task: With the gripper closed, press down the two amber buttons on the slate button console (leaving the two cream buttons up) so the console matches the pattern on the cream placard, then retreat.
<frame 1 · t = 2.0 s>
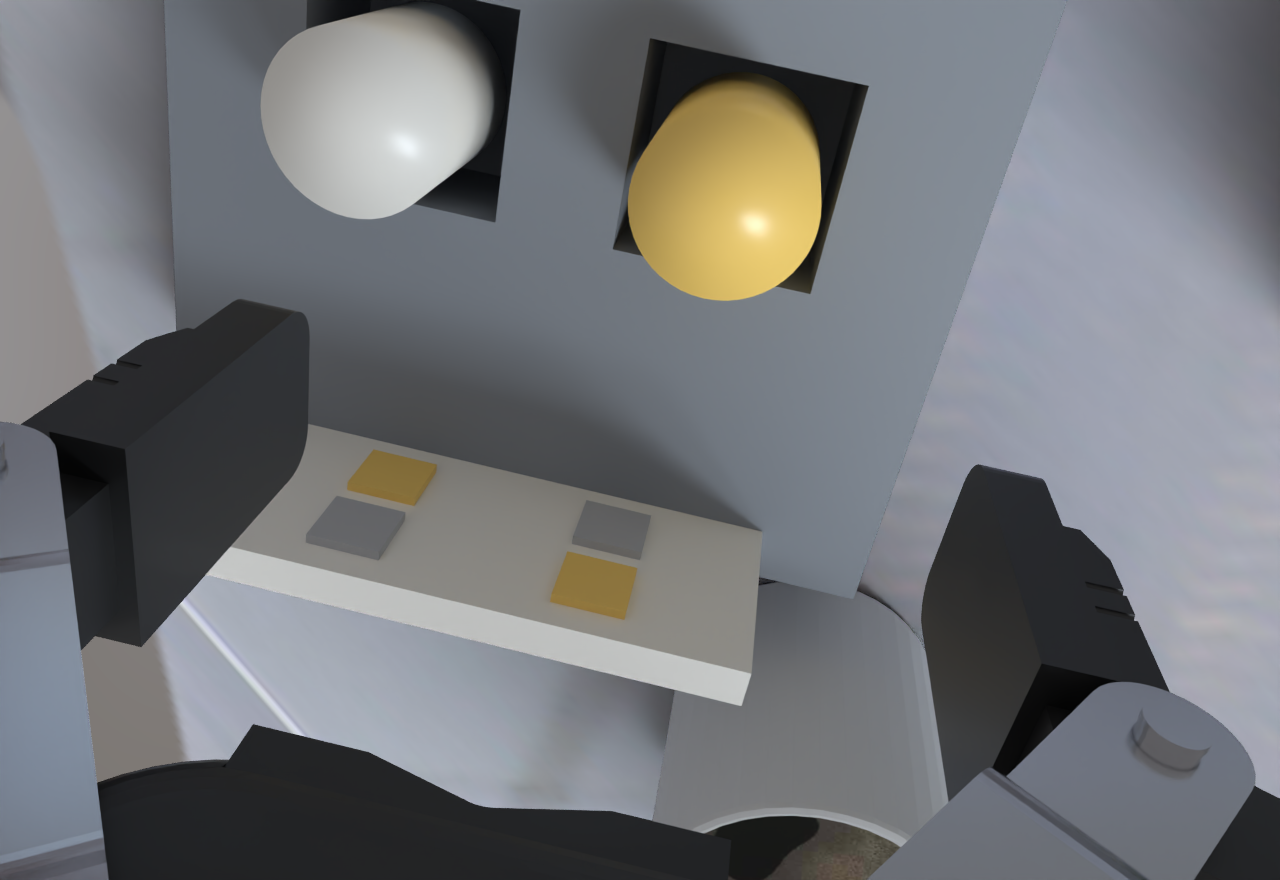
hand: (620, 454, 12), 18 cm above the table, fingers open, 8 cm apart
button cream 2: (393, 104, 24), point 5 cm above the table, slide at 0.0 cm
button amber 1: (731, 180, 24), point 5 cm above the table, slide at 0.0 cm
console: (608, 64, 28), on the table
mug: (786, 695, 37), on the table
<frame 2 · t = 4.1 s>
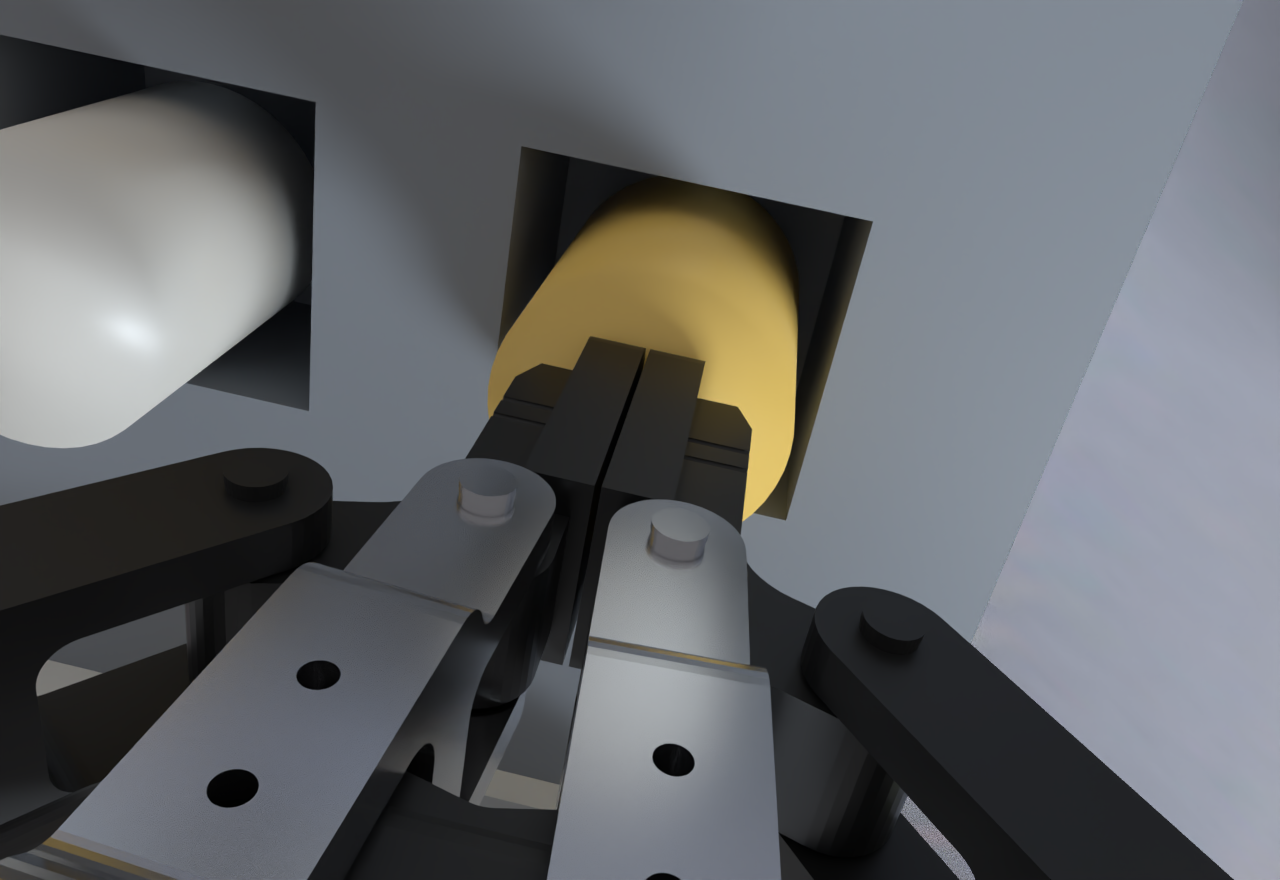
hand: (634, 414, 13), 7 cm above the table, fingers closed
button cream 2: (126, 249, 15), point 5 cm above the table, slide at 0.0 cm
button amber 1: (662, 346, 16), point 5 cm above the table, slide at 0.8 cm, touching gripper
console: (493, 159, 19), on the table
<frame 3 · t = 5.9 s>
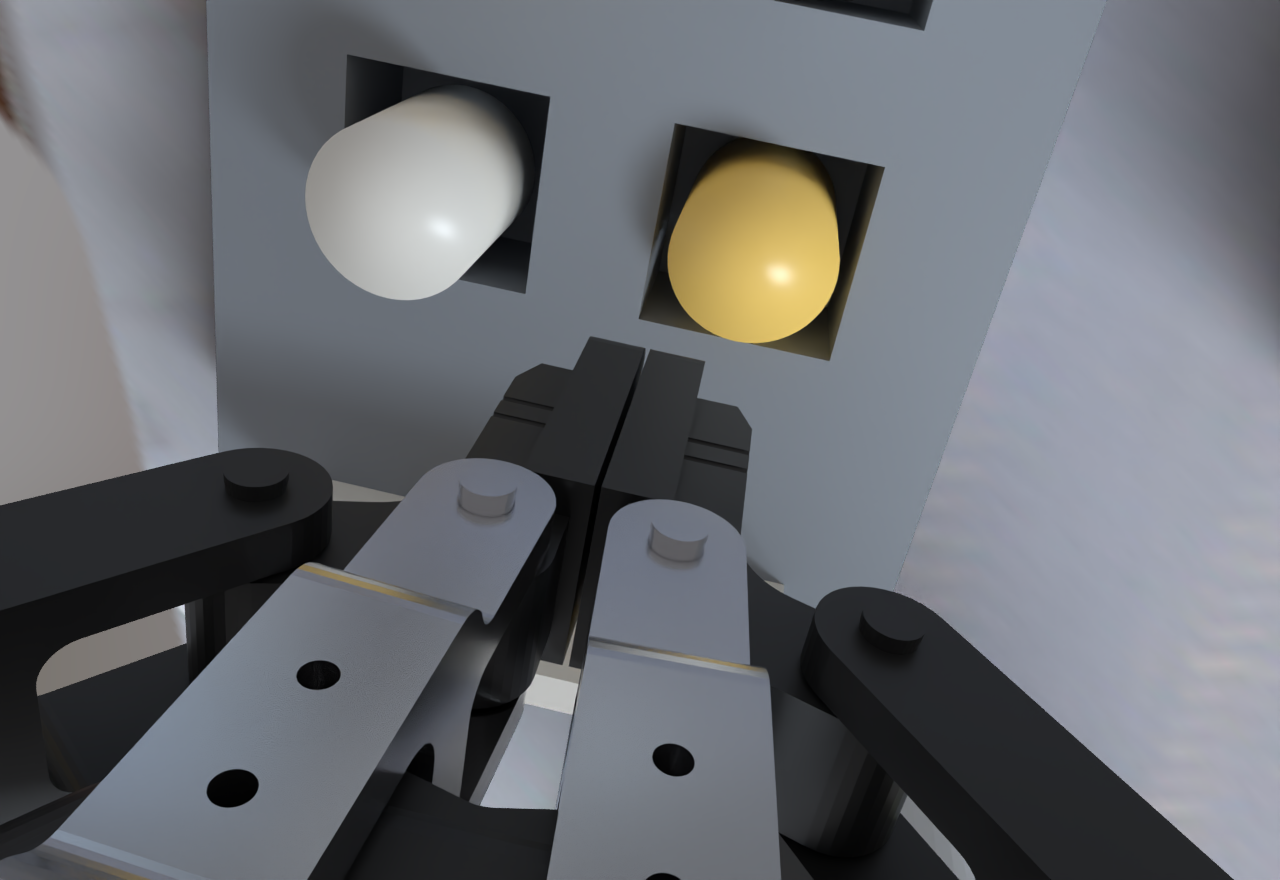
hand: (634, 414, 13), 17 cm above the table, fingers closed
button cream 2: (429, 186, 25), point 5 cm above the table, slide at 0.0 cm
button amber 1: (757, 233, 26), point 3 cm above the table, slide at 2.0 cm
console: (631, 136, 29), on the table
mug: (806, 734, 38), on the table
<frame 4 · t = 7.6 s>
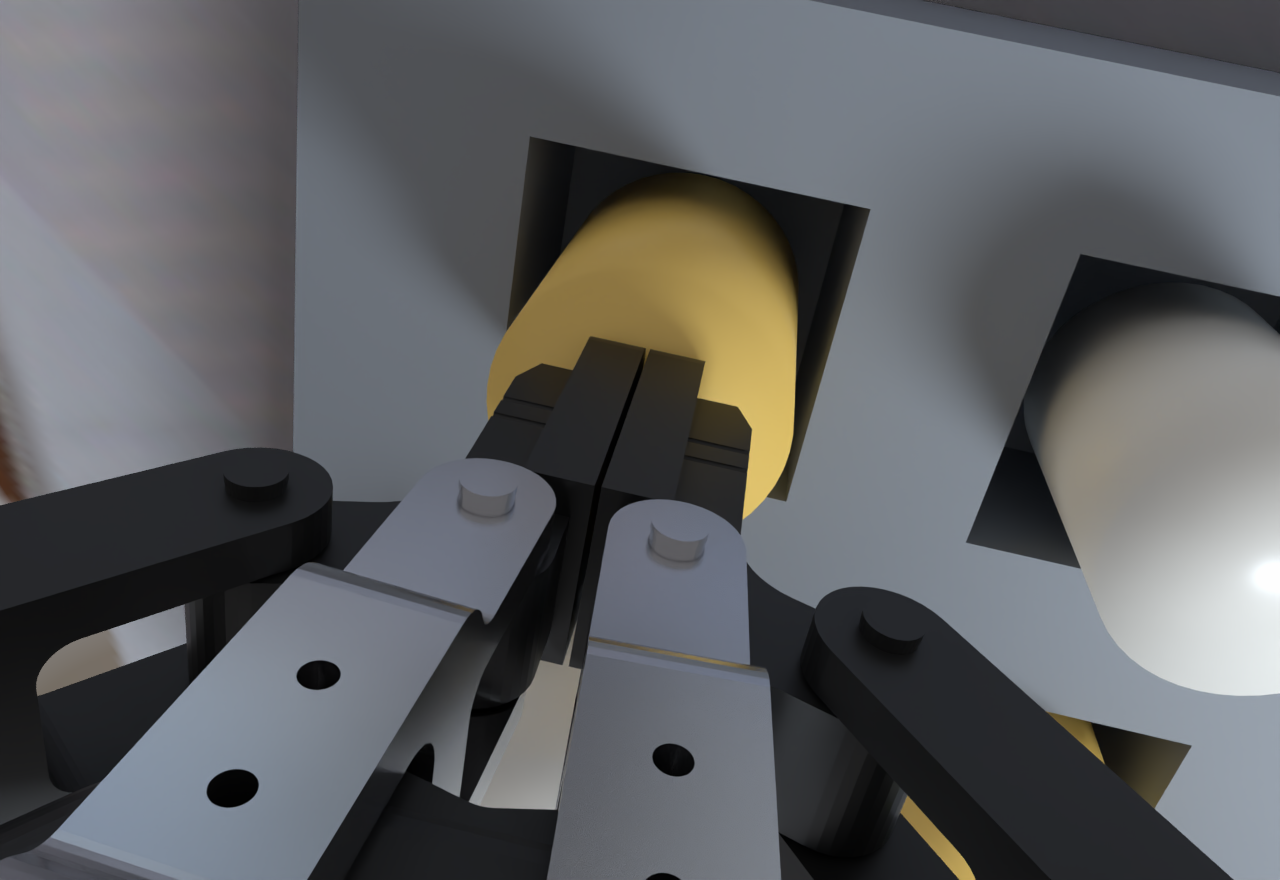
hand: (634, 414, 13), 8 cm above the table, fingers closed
button cream 2: (581, 740, 19), point 5 cm above the table, slide at 0.0 cm
button amber 2: (662, 345, 15), point 5 cm above the table, slide at 0.3 cm, touching gripper
button amber 1: (992, 762, 21), point 3 cm above the table, slide at 2.0 cm
console: (808, 581, 23), on the table
button cream 1: (1200, 471, 15), point 5 cm above the table, slide at 0.0 cm
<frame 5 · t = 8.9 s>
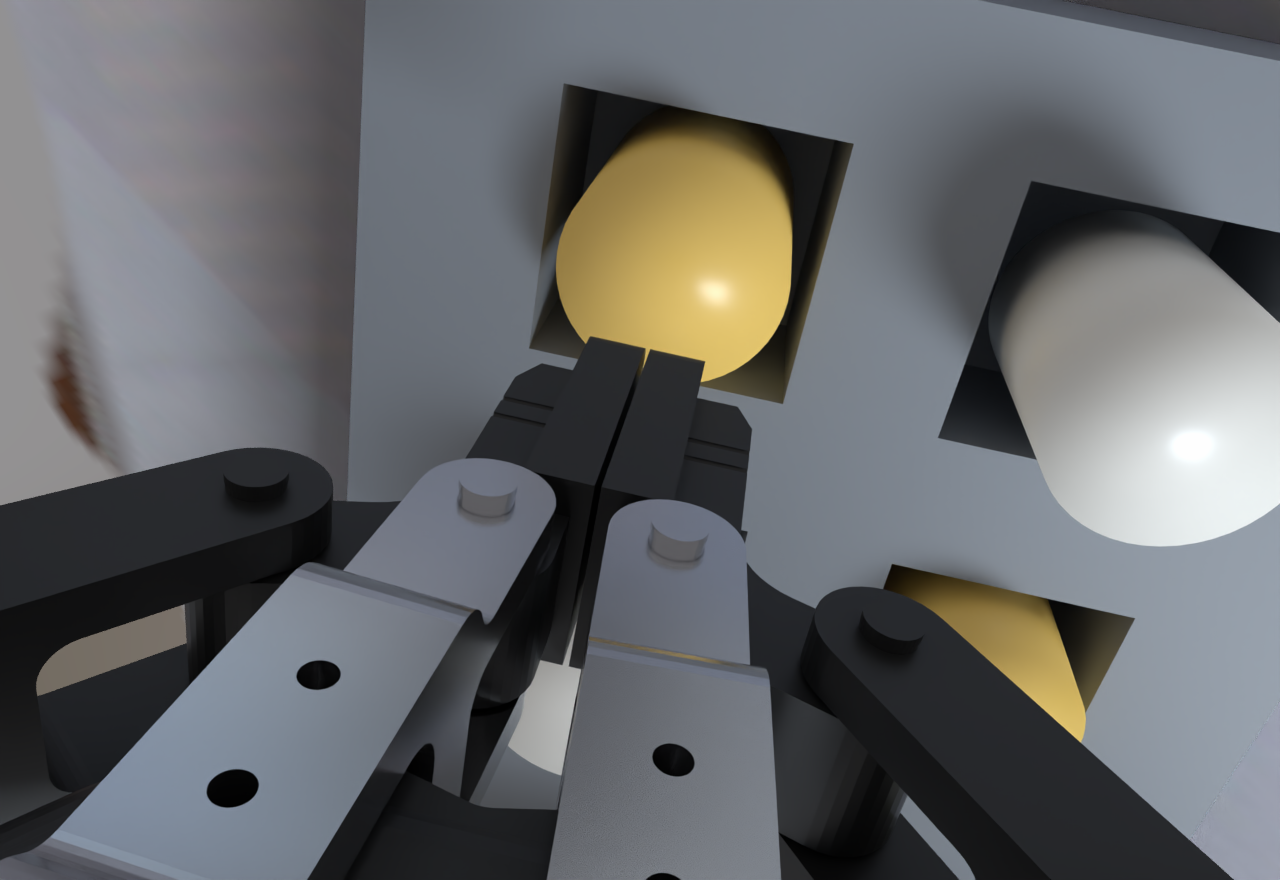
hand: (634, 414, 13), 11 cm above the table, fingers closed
button cream 2: (604, 622, 22), point 5 cm above the table, slide at 0.0 cm
button amber 2: (686, 233, 20), point 3 cm above the table, slide at 2.0 cm
button amber 1: (965, 645, 23), point 3 cm above the table, slide at 2.0 cm
console: (802, 494, 26), on the table
button cream 1: (1133, 366, 18), point 5 cm above the table, slide at 0.0 cm
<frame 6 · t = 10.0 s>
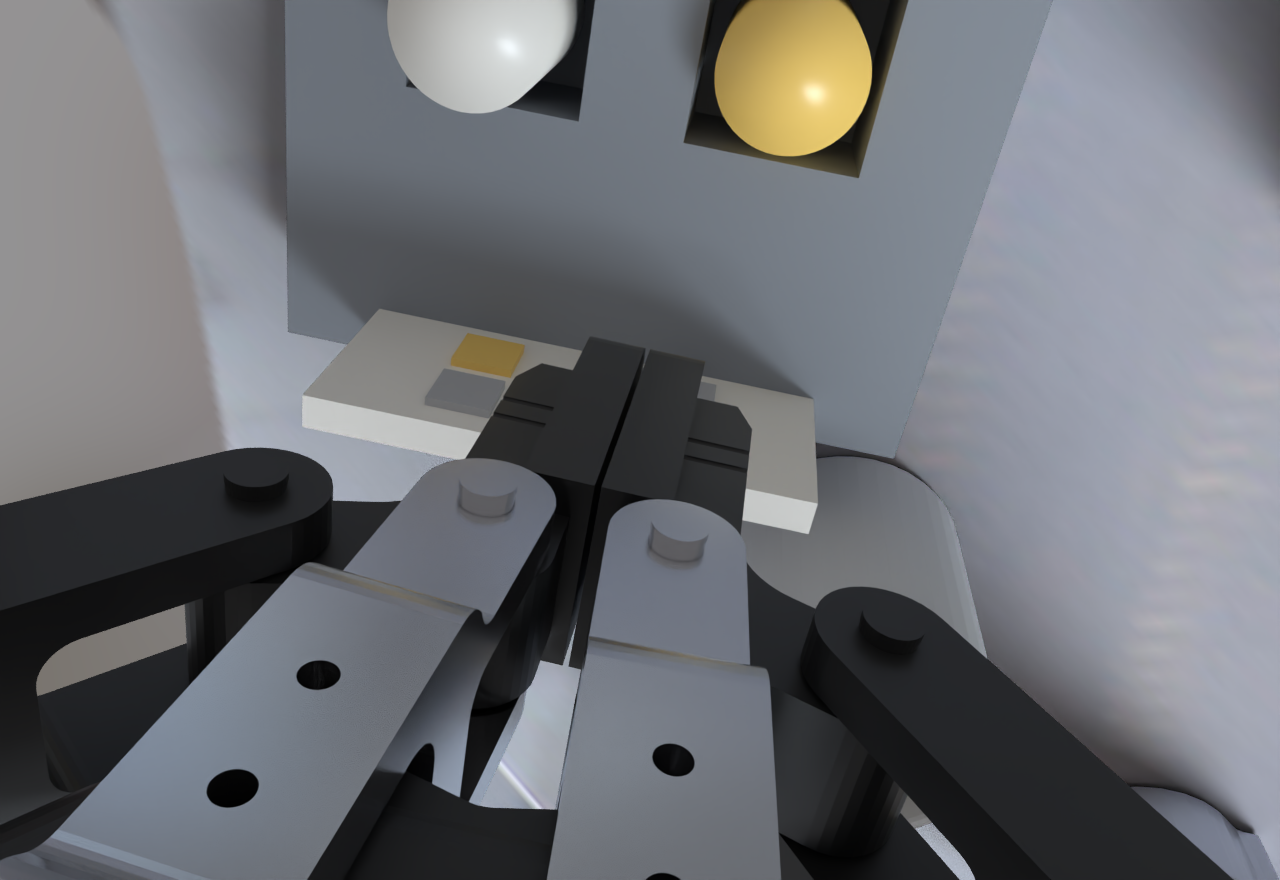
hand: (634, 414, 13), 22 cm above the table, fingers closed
button cream 2: (493, 14, 27), point 5 cm above the table, slide at 0.0 cm
button amber 1: (792, 60, 29), point 3 cm above the table, slide at 2.0 cm
mug: (825, 565, 41), on the table
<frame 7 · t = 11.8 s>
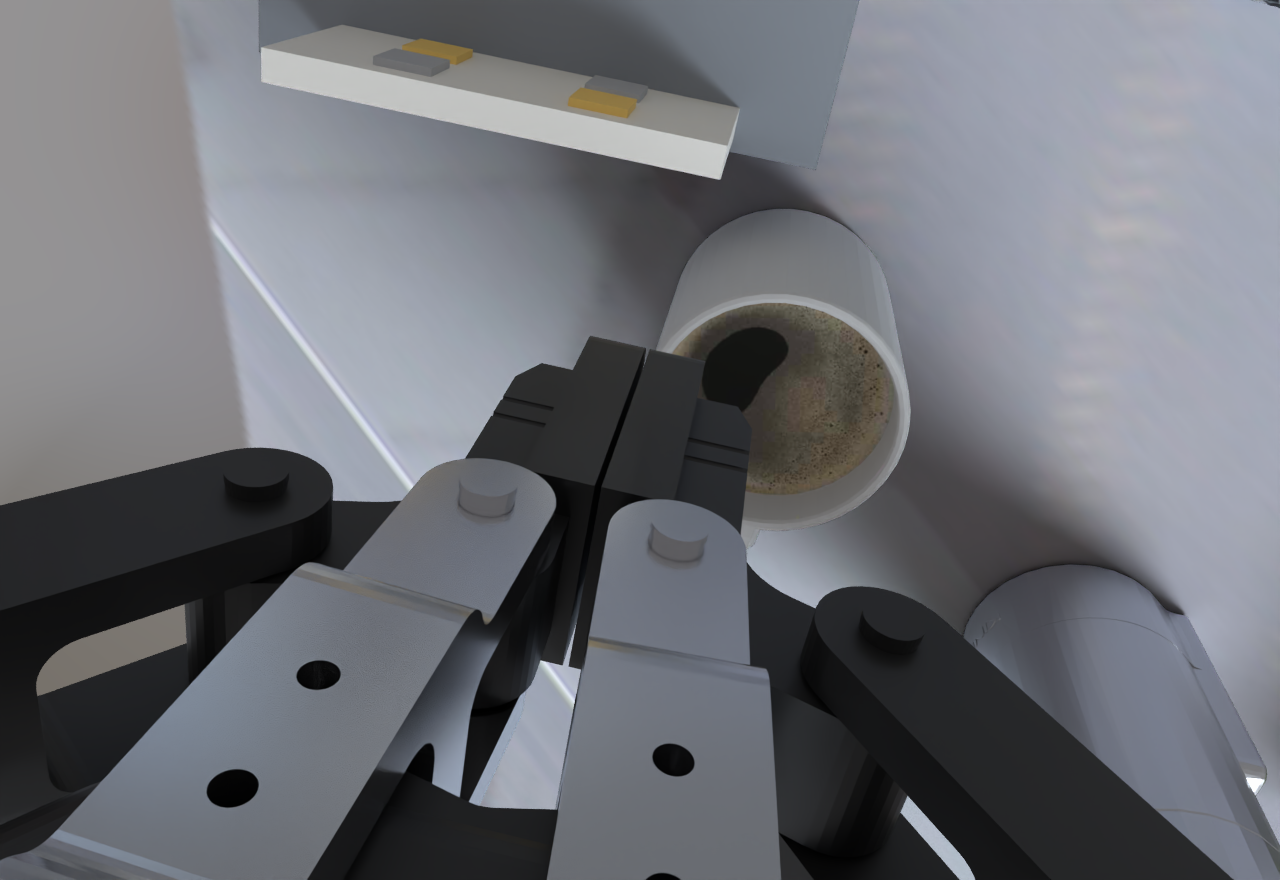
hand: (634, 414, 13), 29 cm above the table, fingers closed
mug: (767, 330, 44), on the table
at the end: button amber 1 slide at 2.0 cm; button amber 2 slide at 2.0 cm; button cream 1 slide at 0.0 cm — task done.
